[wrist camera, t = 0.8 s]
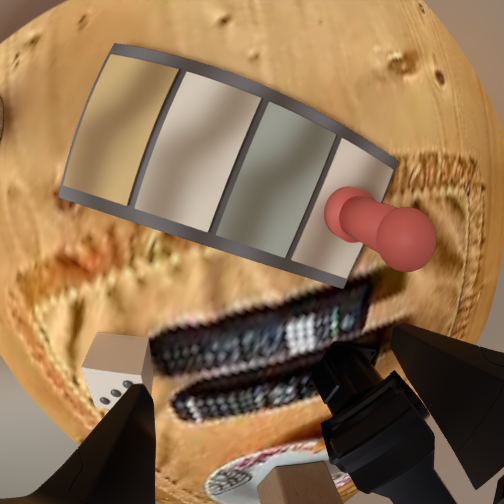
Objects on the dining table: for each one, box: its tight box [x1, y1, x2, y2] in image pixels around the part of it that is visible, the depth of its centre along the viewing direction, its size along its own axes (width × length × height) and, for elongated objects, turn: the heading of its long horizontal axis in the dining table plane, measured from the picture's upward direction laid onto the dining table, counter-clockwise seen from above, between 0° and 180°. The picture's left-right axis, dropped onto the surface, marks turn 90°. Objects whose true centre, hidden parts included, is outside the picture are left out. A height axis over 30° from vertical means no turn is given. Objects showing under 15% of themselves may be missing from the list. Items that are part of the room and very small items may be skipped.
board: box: [59, 43, 398, 289], centre depth 18 cm, size 24×12×1 cm, turn 68°
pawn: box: [324, 186, 436, 272], centre depth 16 cm, size 4×4×9 cm
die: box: [81, 332, 153, 409], centre depth 20 cm, size 5×5×5 cm
